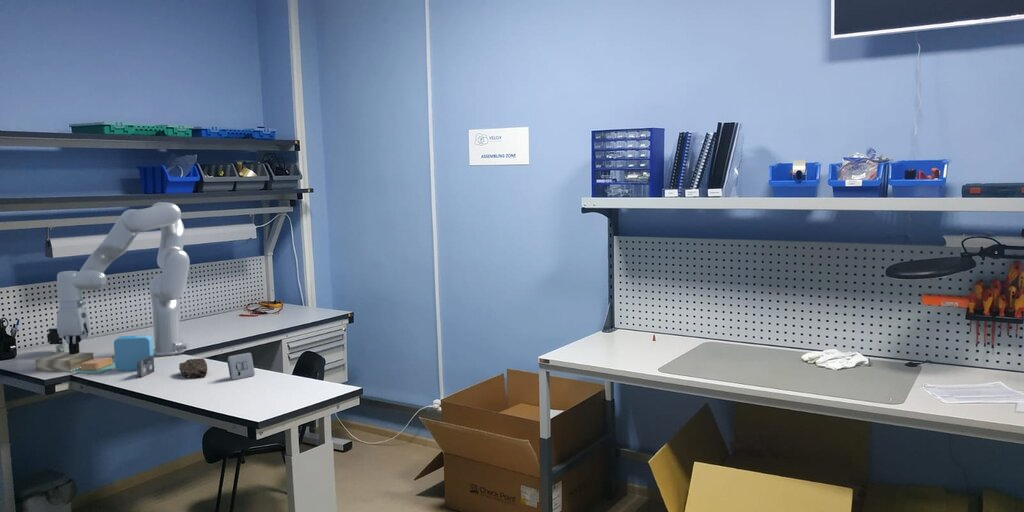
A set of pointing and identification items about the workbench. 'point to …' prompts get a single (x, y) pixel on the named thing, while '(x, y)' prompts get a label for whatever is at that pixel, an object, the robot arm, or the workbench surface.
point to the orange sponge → (96, 363)
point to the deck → (62, 361)
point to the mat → (95, 370)
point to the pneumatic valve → (57, 340)
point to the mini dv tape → (145, 366)
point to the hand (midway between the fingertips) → (74, 353)
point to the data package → (132, 351)
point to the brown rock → (193, 368)
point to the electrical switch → (240, 366)
